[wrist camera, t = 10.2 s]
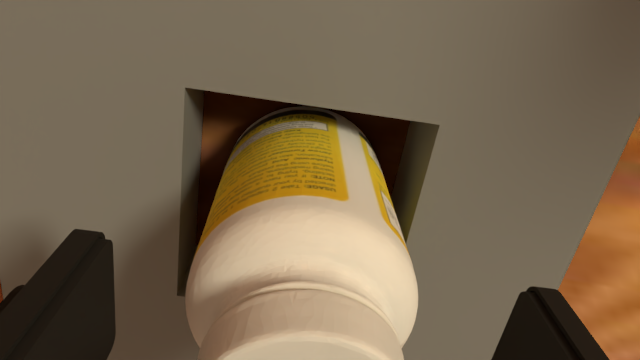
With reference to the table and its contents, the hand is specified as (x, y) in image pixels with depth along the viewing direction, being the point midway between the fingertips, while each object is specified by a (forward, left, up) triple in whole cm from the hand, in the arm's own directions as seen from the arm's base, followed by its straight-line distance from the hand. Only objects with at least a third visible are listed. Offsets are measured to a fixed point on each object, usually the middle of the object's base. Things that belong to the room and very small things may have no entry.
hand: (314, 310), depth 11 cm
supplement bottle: (0, 0, -7) cm, 7 cm away
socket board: (0, 0, -7) cm, 7 cm away
